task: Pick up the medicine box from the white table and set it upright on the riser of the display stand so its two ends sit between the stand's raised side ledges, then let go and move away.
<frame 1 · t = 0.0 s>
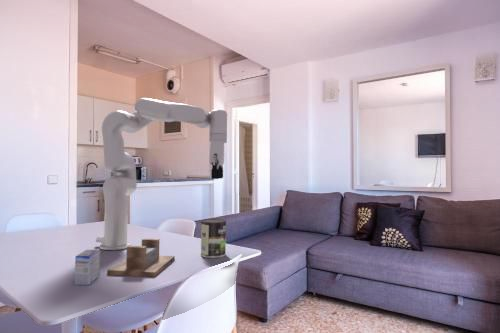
hand: (217, 178, 139), 31 cm above the table, tool pointing down, fingers open, 9 cm apart
display stand: (143, 266, 115), on the table
coffee can: (213, 255, 133), on the table
medicine box: (87, 281, 100), on the table
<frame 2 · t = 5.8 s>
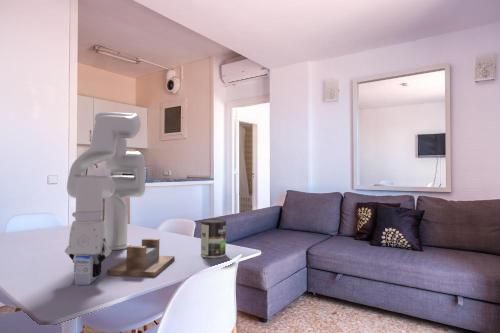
hand: (87, 274, 100), 2 cm above the table, tool pointing down, fingers closed on medicine box, 5 cm apart
medicine box: (87, 281, 100), on the table, touching gripper
everything else where it was.
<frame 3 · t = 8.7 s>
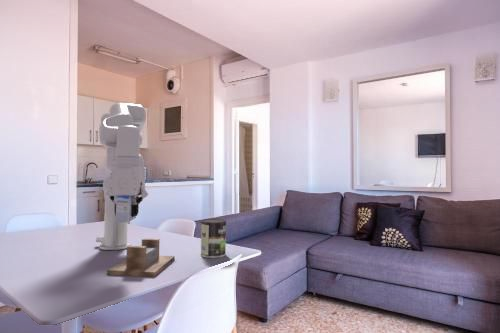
hand: (126, 215, 110), 19 cm above the table, tool pointing down, fingers closed on medicine box, 5 cm apart
medicine box: (126, 220, 110), point 17 cm above the table, touching gripper
everything else where it was.
when the fingers open (9 cm above the table, at t = 11.9 s): medicine box drops 1 cm, resting on display stand.
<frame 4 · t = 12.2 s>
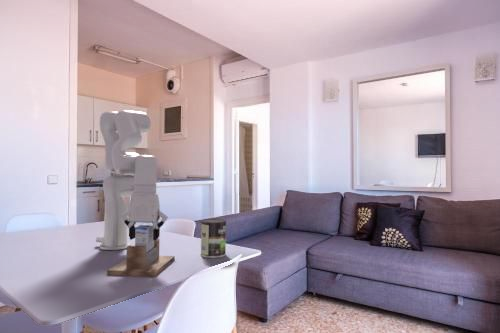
hand: (144, 238, 115), 10 cm above the table, tool pointing down, fingers open, 8 cm apart
medicine box: (144, 250, 115), point 6 cm above the table, touching display stand
everything else where it was.
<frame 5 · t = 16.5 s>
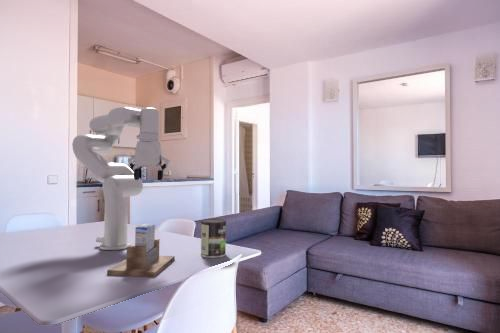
hand: (148, 179, 133), 30 cm above the table, tool pointing down, fingers open, 9 cm apart
nothing on the table moved.
at the end: medicine box 0.3 cm off-centre on the display stand, point 5.8 cm above the display stand's base; medicine box tilted 0°; the gripper is holding nothing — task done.
